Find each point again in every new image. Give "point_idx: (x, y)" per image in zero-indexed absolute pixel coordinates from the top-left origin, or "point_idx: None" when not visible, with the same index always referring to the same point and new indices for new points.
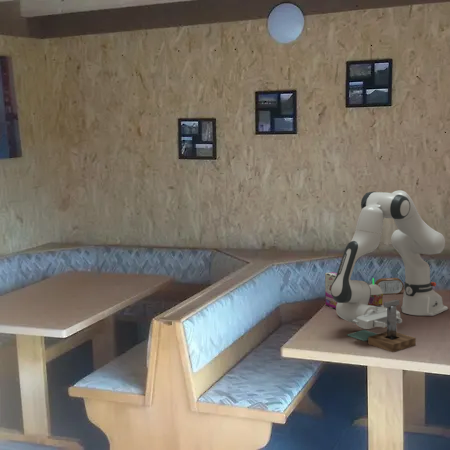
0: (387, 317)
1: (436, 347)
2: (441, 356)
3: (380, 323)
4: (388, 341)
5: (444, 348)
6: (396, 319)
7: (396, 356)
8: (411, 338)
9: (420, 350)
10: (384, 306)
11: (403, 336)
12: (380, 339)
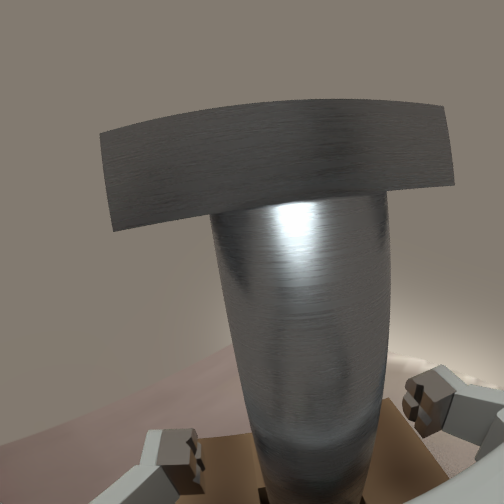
0: (384, 380)
1: (152, 408)
2: (229, 353)
3: (473, 394)
4: (391, 446)
5: (144, 390)
6: (192, 466)
7: (390, 385)
8: (208, 444)
9: (239, 412)
10: (443, 173)
11: (216, 494)
12: (429, 489)
